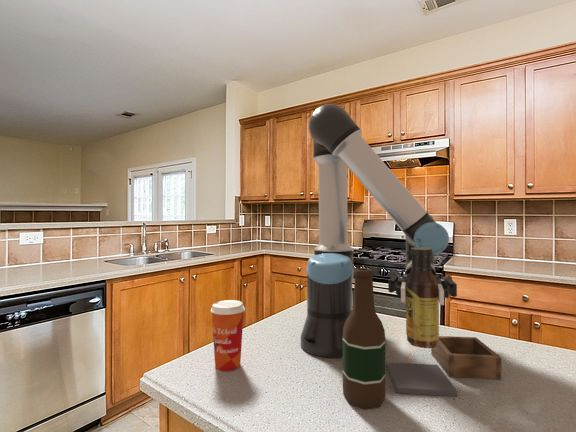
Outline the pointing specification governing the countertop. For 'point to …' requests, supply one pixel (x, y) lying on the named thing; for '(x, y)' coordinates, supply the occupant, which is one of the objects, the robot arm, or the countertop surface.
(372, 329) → the beer bottle
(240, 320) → the paper cup
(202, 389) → the countertop surface
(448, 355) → the collar
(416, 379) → the rubber mat
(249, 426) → the countertop surface
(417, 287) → the sauce bottle
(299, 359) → the countertop surface
